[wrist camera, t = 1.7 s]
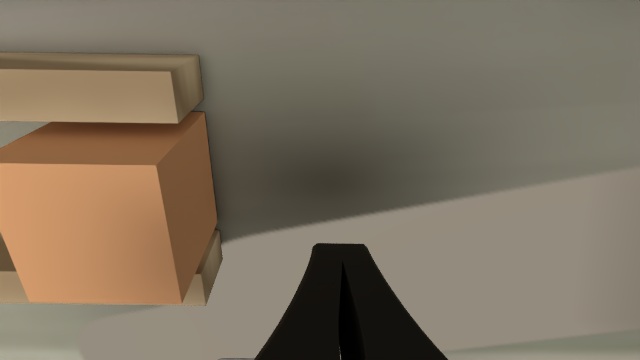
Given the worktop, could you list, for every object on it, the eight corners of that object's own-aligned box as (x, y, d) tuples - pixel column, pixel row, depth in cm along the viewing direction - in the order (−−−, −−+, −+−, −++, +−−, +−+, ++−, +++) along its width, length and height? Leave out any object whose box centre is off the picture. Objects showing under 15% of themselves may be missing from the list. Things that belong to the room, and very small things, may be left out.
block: (217, 221, 18) (181, 304, 13) (104, 220, 17) (29, 302, 13) (204, 112, 15) (156, 165, 11) (74, 110, 15) (-28, 162, 11)
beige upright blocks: (222, 258, 19) (205, 305, 16) (-14, 255, 18) (-71, 302, 16) (198, 55, 14) (170, 71, 12) (-105, 50, 14) (-203, 65, 12)
